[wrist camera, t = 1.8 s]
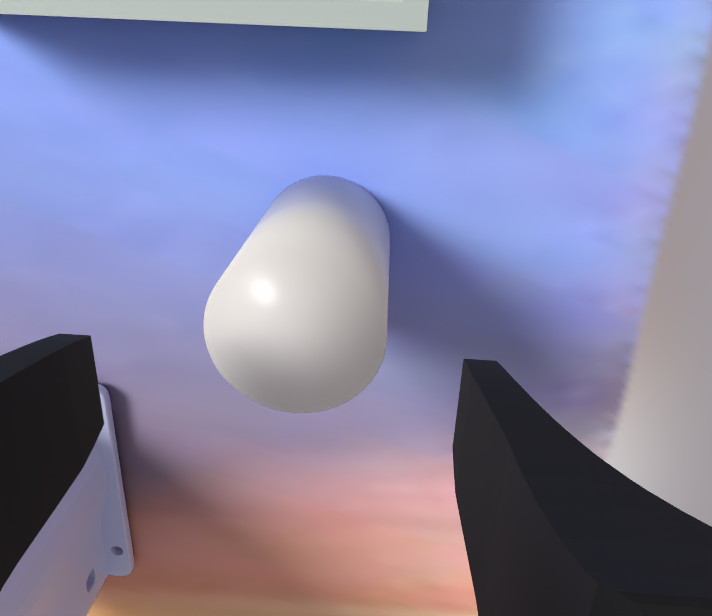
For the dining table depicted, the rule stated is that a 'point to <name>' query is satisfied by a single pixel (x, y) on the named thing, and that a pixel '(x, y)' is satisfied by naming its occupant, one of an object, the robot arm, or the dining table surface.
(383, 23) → the tote
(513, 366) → the dining table surface
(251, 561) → the dining table surface
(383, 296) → the white capsule cylinder
